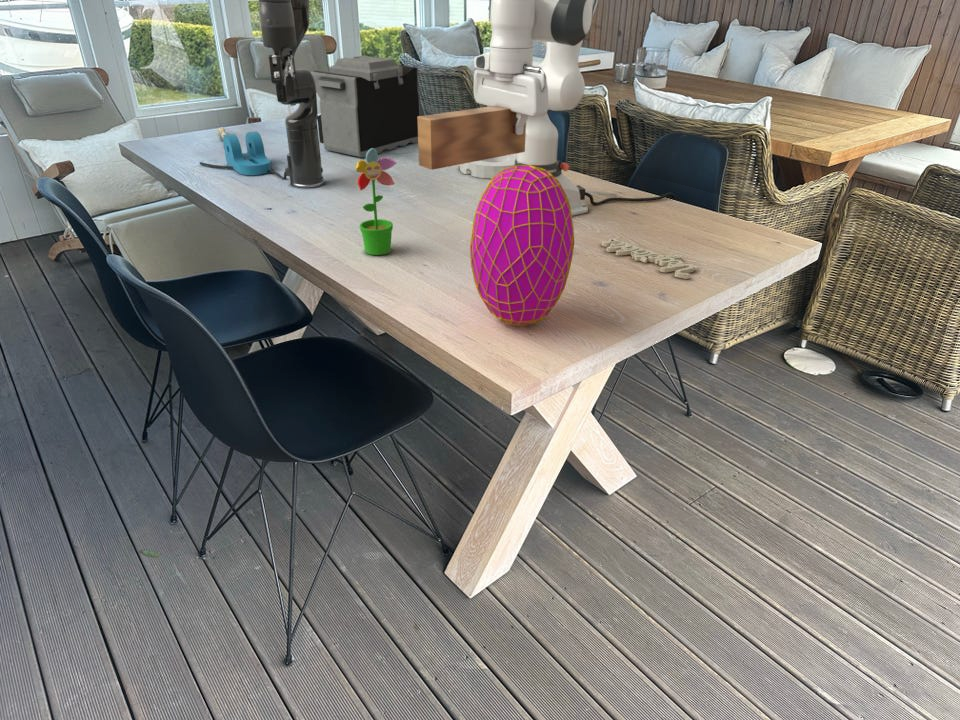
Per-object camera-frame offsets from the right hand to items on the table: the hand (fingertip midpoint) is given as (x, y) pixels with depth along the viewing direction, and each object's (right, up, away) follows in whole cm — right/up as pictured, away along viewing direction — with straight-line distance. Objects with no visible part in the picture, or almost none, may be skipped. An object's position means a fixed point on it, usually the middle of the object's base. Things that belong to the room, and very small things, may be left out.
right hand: (508, 131), depth 147 cm
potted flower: (-31, -23, +20) cm, 43 cm away
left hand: (-53, +14, +17) cm, 57 cm away
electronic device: (-47, +31, +111) cm, 124 cm away
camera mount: (-83, +15, +82) cm, 117 cm away
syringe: (-104, +36, +117) cm, 161 cm away
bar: (-7, -7, -3) cm, 10 cm away
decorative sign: (+35, -25, +17) cm, 46 cm away
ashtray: (-1, +15, +84) cm, 86 cm away
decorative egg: (+1, -41, -11) cm, 43 cm away
